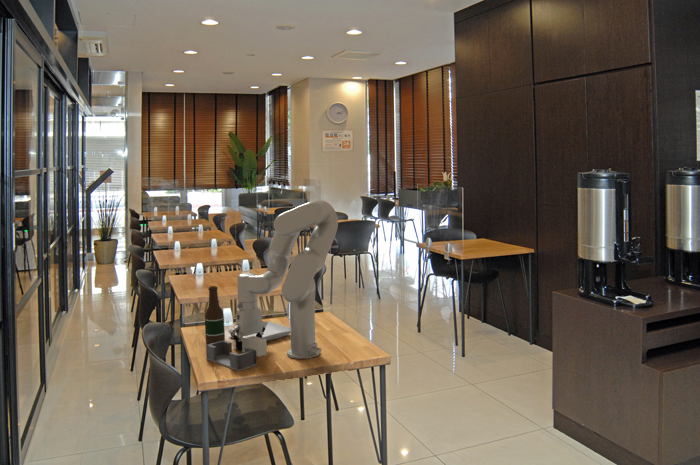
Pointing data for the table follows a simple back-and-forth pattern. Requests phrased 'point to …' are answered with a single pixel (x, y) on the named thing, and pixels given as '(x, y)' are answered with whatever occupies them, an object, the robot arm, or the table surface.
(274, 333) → the salad plate
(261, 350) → the beige rectangular block
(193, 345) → the table surface
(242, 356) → the endcap jig
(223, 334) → the beer bottle
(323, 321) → the table surface
